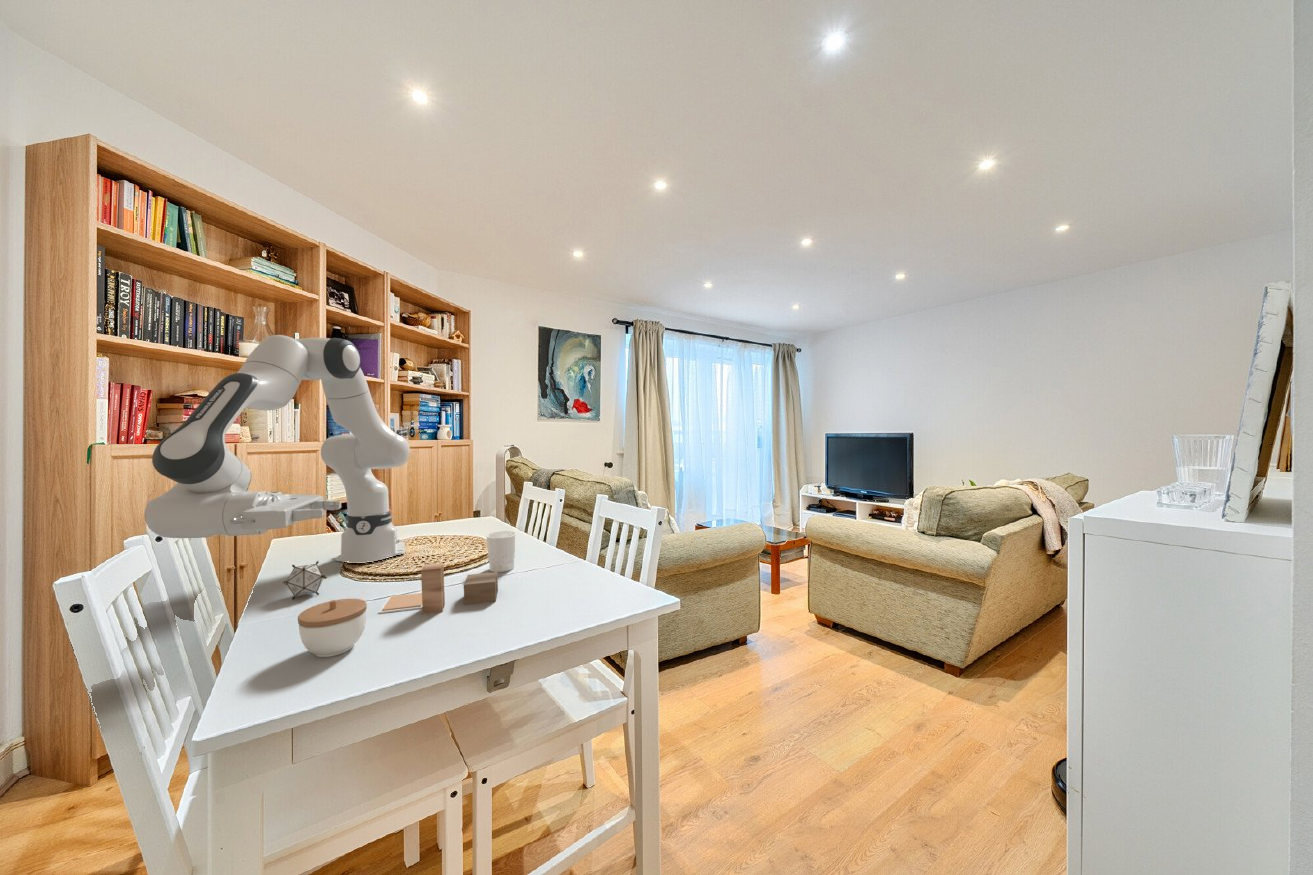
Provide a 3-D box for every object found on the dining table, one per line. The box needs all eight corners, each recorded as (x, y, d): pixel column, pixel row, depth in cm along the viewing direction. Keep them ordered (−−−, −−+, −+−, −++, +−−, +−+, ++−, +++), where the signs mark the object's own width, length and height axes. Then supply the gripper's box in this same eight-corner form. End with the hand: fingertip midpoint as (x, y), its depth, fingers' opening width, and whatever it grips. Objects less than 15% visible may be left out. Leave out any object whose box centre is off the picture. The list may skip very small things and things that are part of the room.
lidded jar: (295, 649, 88) (293, 601, 88) (360, 630, 96) (358, 586, 95) (304, 671, 80) (301, 618, 80) (374, 648, 88) (372, 600, 88)
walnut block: (468, 594, 115) (467, 574, 115) (498, 591, 117) (497, 571, 116) (464, 605, 108) (463, 584, 108) (495, 602, 110) (495, 581, 110)
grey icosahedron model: (297, 611, 114) (270, 580, 113) (331, 588, 121) (306, 559, 120) (304, 602, 109) (276, 569, 108) (340, 579, 116) (314, 548, 115)
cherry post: (426, 607, 107) (424, 564, 107) (444, 604, 108) (443, 562, 108) (422, 614, 103) (421, 570, 103) (442, 611, 104) (440, 568, 104)
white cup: (481, 571, 131) (480, 536, 131) (499, 563, 139) (498, 530, 138) (504, 574, 129) (503, 539, 128) (521, 565, 136) (520, 532, 136)
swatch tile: (389, 598, 113) (389, 595, 113) (430, 593, 115) (430, 591, 115) (378, 613, 104) (378, 610, 104) (423, 608, 106) (423, 605, 106)
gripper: (222, 505, 84) (311, 502, 88) (276, 490, 104) (347, 488, 108) (223, 540, 84) (312, 534, 88) (277, 518, 104) (348, 515, 108)
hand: (332, 509), depth 98 cm, fingers open, 8 cm apart
